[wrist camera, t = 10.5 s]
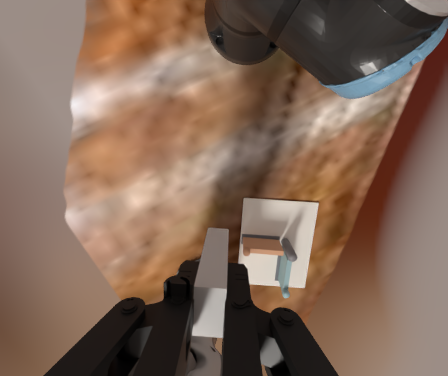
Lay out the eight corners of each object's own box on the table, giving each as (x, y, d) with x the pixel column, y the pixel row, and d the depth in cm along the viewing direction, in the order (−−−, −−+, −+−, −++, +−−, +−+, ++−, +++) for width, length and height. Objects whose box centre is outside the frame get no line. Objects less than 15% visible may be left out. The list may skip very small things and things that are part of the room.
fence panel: (241, 241, 51) (242, 255, 46) (242, 236, 51) (243, 249, 45) (278, 244, 51) (284, 259, 45) (279, 239, 51) (285, 252, 45)
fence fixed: (281, 237, 52) (288, 253, 45) (289, 237, 51) (297, 253, 45) (275, 278, 54) (282, 299, 47) (283, 279, 54) (290, 300, 47)
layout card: (243, 197, 50) (243, 198, 49) (318, 202, 49) (318, 203, 49) (236, 282, 55) (236, 283, 54) (304, 287, 54) (304, 288, 54)
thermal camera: (214, 251, 53) (182, 466, 19) (238, 294, 55) (248, 552, 21) (170, 270, 54) (68, 500, 21) (195, 311, 57) (143, 577, 23)
